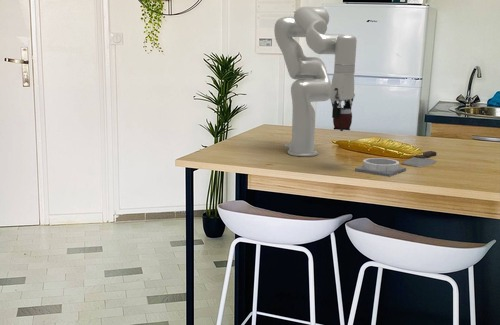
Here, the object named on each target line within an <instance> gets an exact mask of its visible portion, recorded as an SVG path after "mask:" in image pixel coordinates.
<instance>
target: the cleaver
mask: <svg viewBox="0 0 500 325" xmlns="http://www.w3.org/2000/svg"><path fill="white" fill-rule="evenodd" d="M422 153H423V155H421V156H414V155H413V156H414V157H413V156H412V157H411V158H409V159H406V160H404V161H403V162H402V163H401V165H402V166H408V167H414V168H423V167H428V166H432V165H433V164H435V163H436V162H437V160H435V159H431V157H436V156H437V152H436V151H434V150H429V151H428V150H427V151H424V152H422Z"/></svg>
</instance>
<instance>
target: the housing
mask: <svg viewBox="0 0 500 325" xmlns="http://www.w3.org/2000/svg"><path fill="white" fill-rule="evenodd" d="M362 161H363V162H362V165H361V166H357V167H355V168H354V171H355V172H359V173H364V172H365V174H372V175H376V174H377V176H378V175H379V176H384V177H390V178H391V177H393V176H395V175H397V173H398V174H400V173H403V172H406V171H407V167H404V166H400V161H399V160H396V159H392V158H390V159H389V158H385V157H384V158H381V157H371V158H369V157H368V158H365V159H363V160H362ZM392 175H393V176H392Z"/></svg>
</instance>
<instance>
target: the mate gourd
mask: <svg viewBox="0 0 500 325" xmlns="http://www.w3.org/2000/svg"><path fill="white" fill-rule="evenodd" d="M338 99H339V98H338ZM340 108H341V115H340V119H337V118H332V123H333V130H336V131H340V132H344V131H351V127H352V126H351V125H352V121H353V111H352V109H351V110H350V109H349V108H343V106H342V104H341V105H340Z"/></svg>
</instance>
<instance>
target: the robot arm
mask: <svg viewBox="0 0 500 325" xmlns="http://www.w3.org/2000/svg"><path fill="white" fill-rule="evenodd" d="M329 22H330V14H329V12H328V11H327V9H326V8H324V7H321V6H301V7H299V8H297V9H296V10H295V12H294V14H293V16H283V17H280V18H278V19H277V20H276V21H275V23H274V30H273V31H274V38H275V42H276V44H277V46H278V47H279V49H280V52H281V54H282V57H283V59H284V62H285V65H286V69H287V71H288V72H287V73H288V75H289V77H290V78H291V79H293V80H295V81H293V82H292V84H291V86H290V96H291V101H292V102H291V104H292V116H291V117H292V122H291V124H292V126H291V142H290V141H289V142H288V141H286V142H285V144H284V147H285V148H289V149H288V150H287V154H288V155H291V156H296V157H314V156H316V155H318V151H317V150H315V134H316V132H315V130H316V111H315V108H314V107H313V104H312V103H314V102H316V103H317V102H327V101H328V100H330V103H331V107H332V113H331V114H332V115H331V118H332V119H333V118H337V119H340V115H341V108H340V105H341V106H342V108H349V109H350V110H351V111H352V106H353V103H354V100H355V96H356V94H355V70H356V69H355V67H356V57H357V56H356V55H357V43H358V42H357V37H356V36H354V35H350V34H349V35H348V34H347V35H346V34H343V33H342V34H340V33H339V34H338V33H326V32H327V30H328V24H329ZM294 38H305V42H306V45H307V46H308V48H310V49H311V51H313V52H314V53H315V54H318V55H334V66H333V68H334V69H333V75H332V79H331V80H330V77H329V74H328V71H327V67H326V66H325V62H324V61H323V59H321V58H319V57H315V56H306V55H305V54H304V51H303V48H302V46H301V44H299V43H298V41H297V40H295V39H294ZM338 98H339V99H338ZM342 102H343V104H344V105H342Z"/></svg>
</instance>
